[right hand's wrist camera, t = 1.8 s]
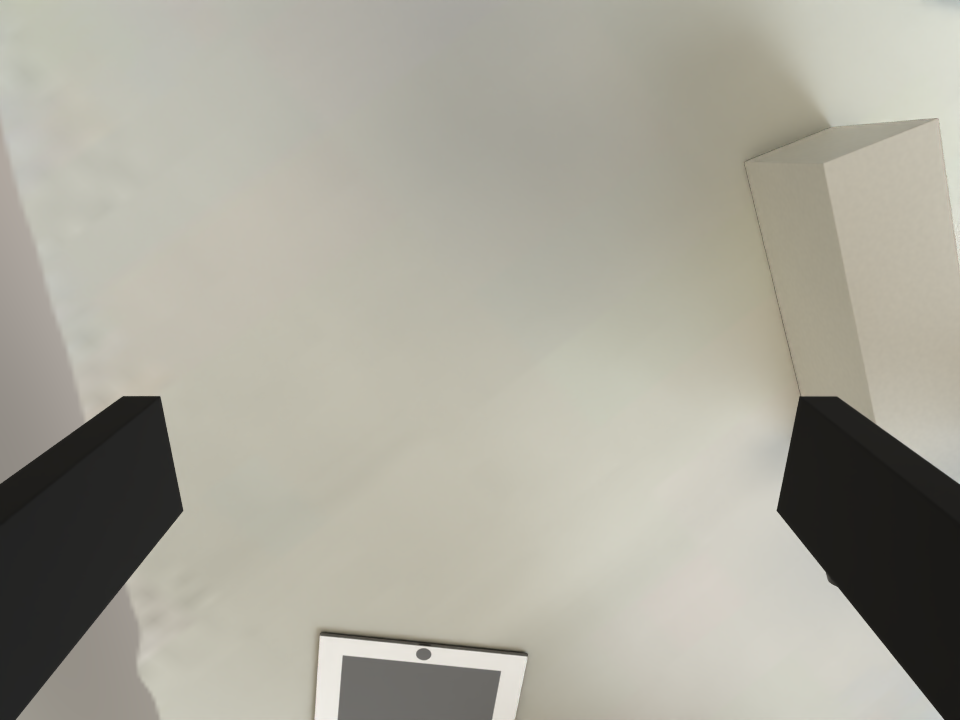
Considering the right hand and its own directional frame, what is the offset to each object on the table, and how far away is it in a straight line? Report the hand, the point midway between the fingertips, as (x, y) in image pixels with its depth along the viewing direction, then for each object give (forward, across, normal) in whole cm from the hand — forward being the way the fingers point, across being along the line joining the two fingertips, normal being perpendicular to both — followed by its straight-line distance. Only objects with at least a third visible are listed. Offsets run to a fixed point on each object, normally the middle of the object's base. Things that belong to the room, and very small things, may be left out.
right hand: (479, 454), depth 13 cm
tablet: (+34, -8, -55) cm, 65 cm away
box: (+35, +28, -6) cm, 45 cm away
